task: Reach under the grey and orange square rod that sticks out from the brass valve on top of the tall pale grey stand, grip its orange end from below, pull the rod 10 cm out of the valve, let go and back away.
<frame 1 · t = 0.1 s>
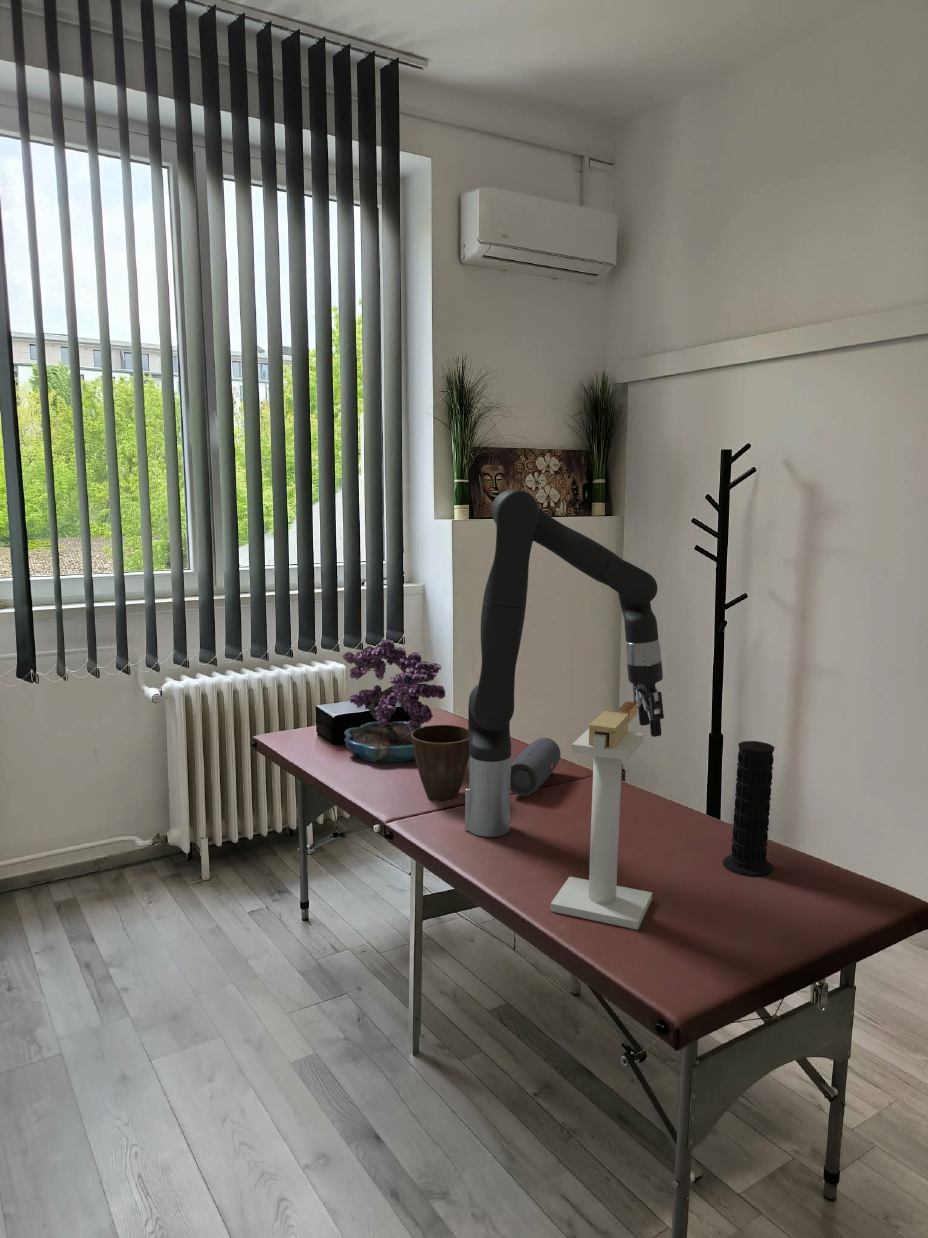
hand: (650, 730, 199), 22 cm above the table, tool pointing down, fingers open, 8 cm apart
grey orange square rod: (616, 723, 164), point 33 cm above the table, slide at 0.0 cm
plant pot: (441, 797, 219), on the table
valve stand: (601, 905, 165), on the table
bluetooth speaker: (533, 786, 227), on the table
bonsai tree: (394, 756, 250), on the table
handle grip: (748, 866, 182), on the table
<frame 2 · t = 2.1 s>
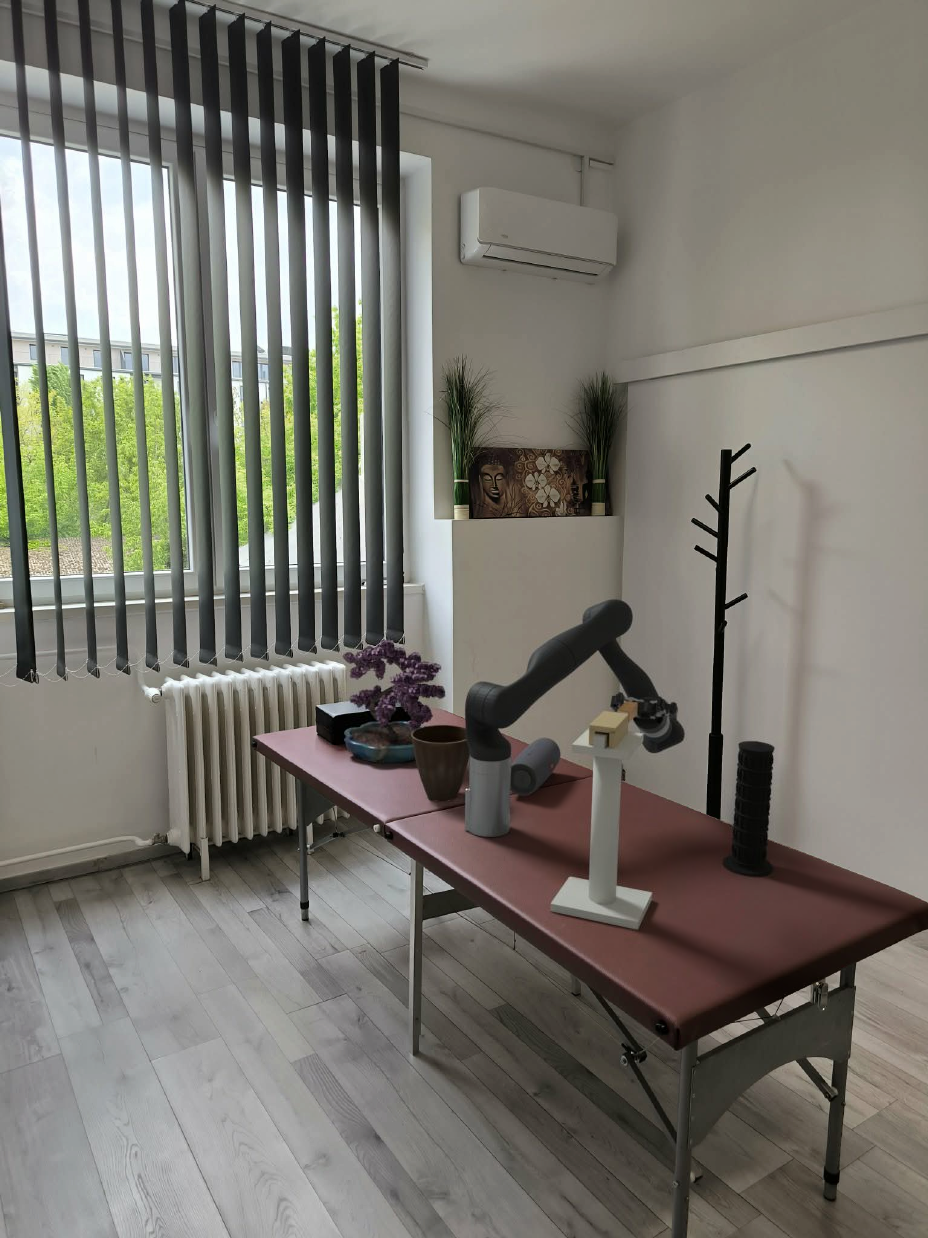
hand: (638, 698, 192), 31 cm above the table, tool pointing upward, fingers open, 8 cm apart
nothing on the table moved.
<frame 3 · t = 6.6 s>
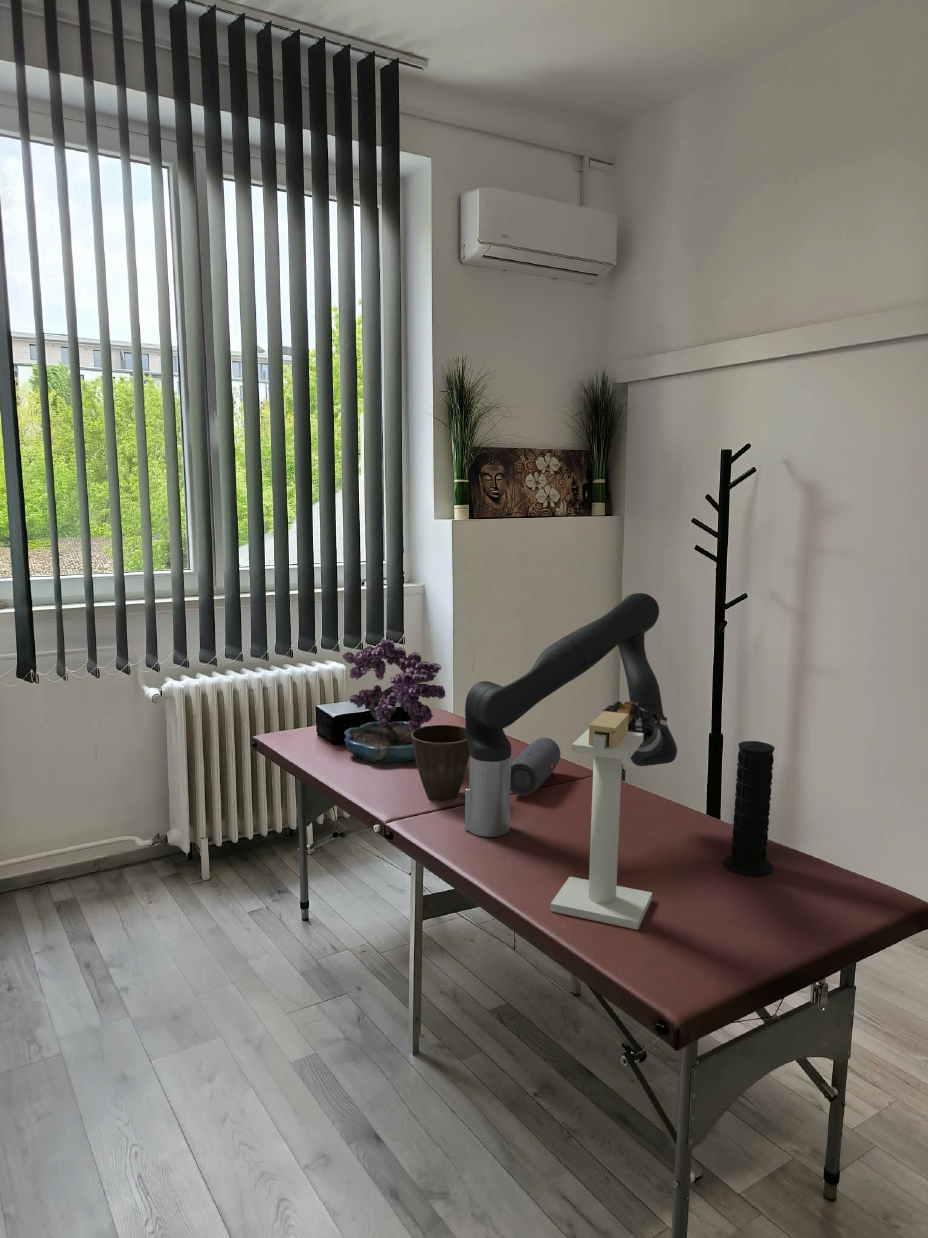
hand: (625, 707, 171), 35 cm above the table, tool pointing upward, fingers closed on grey orange square rod, 2 cm apart
grey orange square rod: (616, 723, 164), point 33 cm above the table, slide at 0.0 cm, touching gripper
everything else where it was.
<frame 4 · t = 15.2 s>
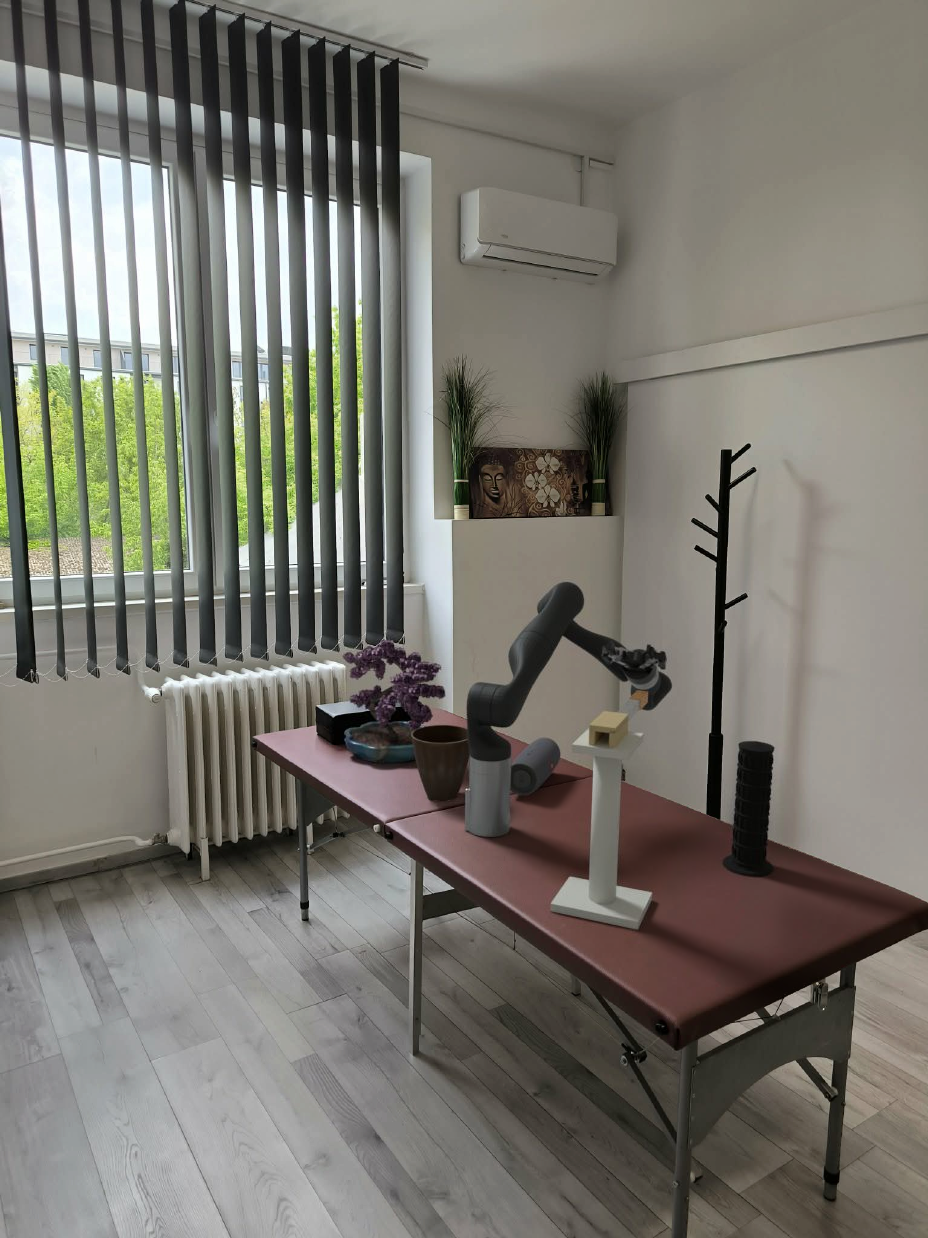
hand: (628, 646, 197), 41 cm above the table, tool pointing upward, fingers open, 8 cm apart
grey orange square rod: (628, 710, 174), point 33 cm above the table, slide at 10.0 cm
everything else where it was.
at the end: grey orange square rod slide at 10.0 cm; the gripper is holding nothing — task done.
